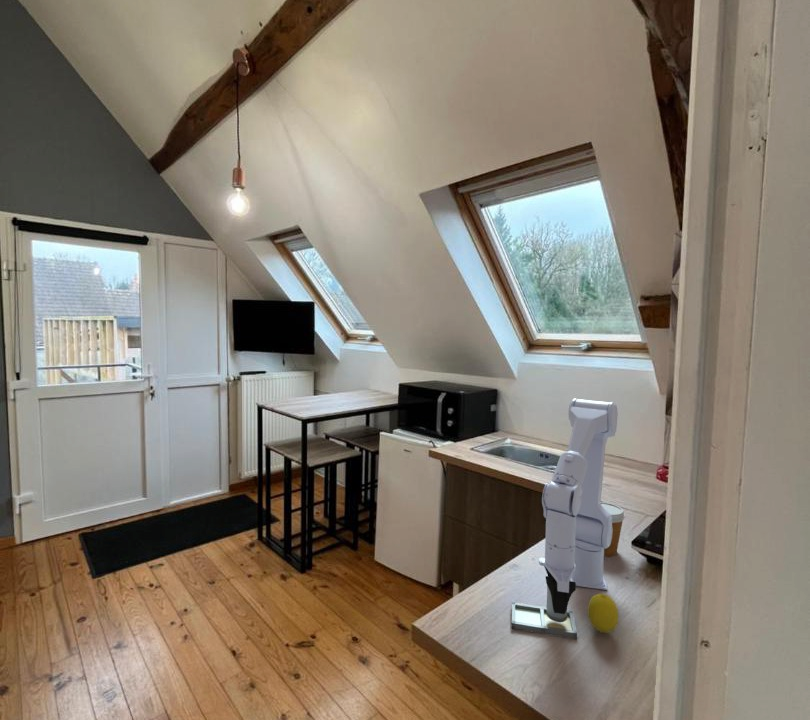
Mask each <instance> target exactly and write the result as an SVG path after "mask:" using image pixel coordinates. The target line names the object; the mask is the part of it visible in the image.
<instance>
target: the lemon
mask: <svg viewBox="0 0 810 720" xmlns="http://www.w3.org/2000/svg"><path fill="white" fill-rule="evenodd" d="M587 614H588V615H587V616H588V619H589V623H591V625H592V626H593V627H594V629H596V630H598V631H600V633H602V634H604V633H610V632H613V631H614V630H615V629H616V627H617V625H618V624H619V610H618V607H617V604H616V603H615V601H614V600H613V599H612V597H610V596H608V595H607V594H605V593H597V594H595V595H593V596H592V597H591V598H590V601H589V603H588V608H587Z"/></svg>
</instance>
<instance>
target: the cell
mask: <svg viewBox="0 0 810 720" xmlns="http://www.w3.org/2000/svg"><path fill="white" fill-rule="evenodd" d="M546 607H547V609H546V615H547V617H548V618H549V619H551V620H553V621H555V622H564V621H566V620H567V611H568V608H567V609H566V612H565V614H559V613H554V610H553V605H552V597H551V593H550V590H549V588H548V586H546Z"/></svg>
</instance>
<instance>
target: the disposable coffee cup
mask: <svg viewBox="0 0 810 720" xmlns="http://www.w3.org/2000/svg"><path fill="white" fill-rule="evenodd" d="M601 505H602V506H603V507H604V508H605V509H606V510H607V511H608V512H609V513H610V515H611V516H612V528H613V532H612V540H611V544H610V546H609V547H608V548H606V549H605V548H604V556H606V557H607V556H608V557H609V556H611V557H613V556H616V555H617V552H618V547H619V542H620V536H621V532H622V526H623V521H624V519H625V518H626V514H625V512H624V509H623V508H622V507H621V506H619V505H618V504H617V505H616V504H614V503H611V502H606V501H601Z"/></svg>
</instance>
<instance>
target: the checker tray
mask: <svg viewBox="0 0 810 720" xmlns="http://www.w3.org/2000/svg"><path fill="white" fill-rule="evenodd" d="M546 609H547V606H542V605H539V606H538V605H534V604H527V603H526V604H525V603H520V602H511V629H513V630H519V631H524V632H531V633H535V634H536V633H537V634H544V635H549V636H555V637H560V638H561V637H562V638H567V639H572V640H573V639H574V640H578V631H577V627H576V621H575V617H574V613H573V611H572V610H567V620H566V621H564V622H555V621H553V620H551V619H549V618H548V617H547V615H546Z"/></svg>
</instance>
